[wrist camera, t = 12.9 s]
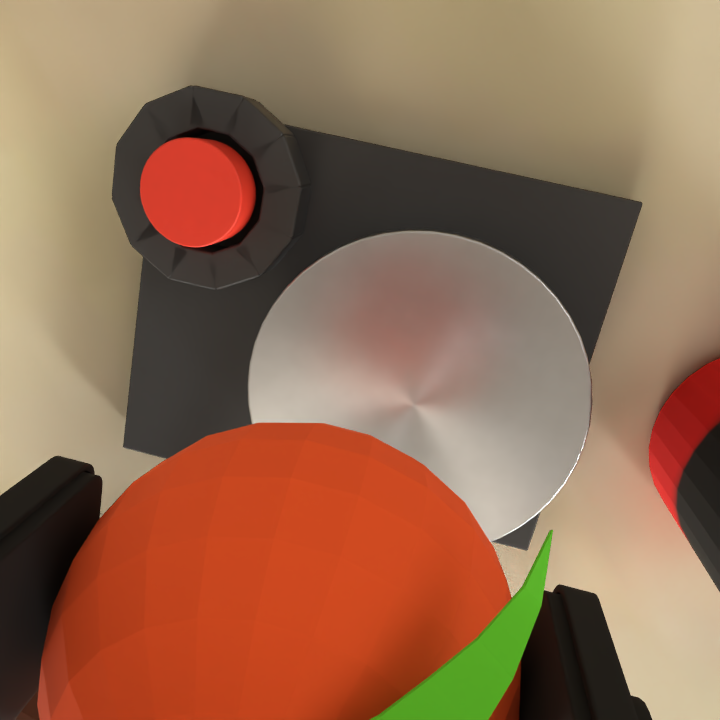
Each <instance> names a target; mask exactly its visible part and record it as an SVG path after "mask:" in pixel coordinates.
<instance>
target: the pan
mask: <svg viewBox="0 0 720 720" xmlns="http://www.w3.org/2000/svg"><path fill="white" fill-rule="evenodd" d="M248 405H249V411H250V417H251V422H252V424H255V423H259V422H260V423H326V424H329V425H333V426H337V427H341V428H345V429H349V430H353V431H357V432H361V433H365V434H369V435H371V436H373V437H375V438H377V439H379V440H380V441H382V442H384V443H386V444H388V445H390V446H392V447H394V448H395V449H397V450H399V451H401V452H403V453H405V454H407V455H408V456H410V457H412V458H414V459H415V460H417V461H419V462H420V463H422V464H423V465H425V466H426V467H427V468H428V469H429V470H430V471H431V472H432V473H433V474H434V475H436V476H437V477H438V478H439V479H440V480H441V481H442V482H443V483H444V484H445V485H447V486H448V487H449V488H450V489H451V490H452V491H453V492H454V493H455V494H456V495H457V496H459V497H460V498H461V499H462V500H463V501H464V502H465V503H466V505H467V506H468V508H469V509H470V511H471V513H472V514H473V516H474V517H475V519H476V520H477V522H478V524H479V525H480V527H481V528H482V530H483V531H484V533H485V535H486V536H487V538H488V539H489V541H490V542H492V541H494V540H497V539H499V538H501V537H503V536H505V535H507V534H509V533H510V532H512V531H514V530H516V529H518V528H519V527H521V526H522V525H523V524H525V523H526V522H527V521H529V520H530V519H532V518H533V517H534V516H536V515H537V514H538V513H539V512H540V511H541V510H542V509H543V508H544V507H545V506H546V505H547V504H548V503H549V502H550V501H551V500H552V499H553V498H554V497H555V495H556V494H557V493H558V492H559V490H560V489H561V488H562V487H563V485H564V484H565V483H566V481H567V479H568V478H569V476H570V474H571V473H572V471H573V469H574V468H575V466H576V464H577V462H578V459H579V457H580V455H581V452H582V450H583V448H584V445H585V441H586V437H587V434H588V430H589V426H590V420H591V411H592V379H591V373H590V368H589V362H588V357H587V354H586V351H585V348H584V345H583V342H582V339H581V336H580V334H579V332H578V330H577V328H576V326H575V324H574V322H573V320H572V318H571V316H570V315H569V313H568V312H567V310H566V309H565V308H564V306H563V305H562V303H561V302H560V300H559V299H558V297H557V296H556V295H555V293H554V292H553V291H552V290H551V289H550V288H549V287H548V286H547V285H546V284H545V282H544V281H543V280H542V279H541V278H540V277H539V276H538V275H537V274H536V273H534V272H533V271H532V270H531V269H530V268H528V267H527V266H526V265H525V264H523V263H522V262H521V261H520V260H518V259H516V258H515V257H513V256H512V255H510V254H508V253H507V252H505V251H503V250H502V249H500V248H498V247H496V246H493V245H491V244H489V243H487V242H484V241H482V240H480V239H477V238H474V237H470V236H467V235H464V234H460V233H457V232H451V231H444V230H438V229H424V228H406V229H397V230H388V231H383V232H379V233H375V234H371V235H367V236H363V237H361V238H358V239H356V240H353V241H351V242H348V243H346V244H343V245H341V246H339V247H338V248H336V249H334V250H332V251H330V252H329V253H327V254H325V255H323V256H322V257H320V258H319V259H318V260H316V261H315V262H314V263H312V264H311V265H310V266H309V267H307V268H306V269H305V270H303V271H302V272H301V273H300V274H299V275H298V276H297V277H296V278H295V279H294V280H293V281H292V282H291V283H290V284H289V285H288V286H287V287H286V288H285V289H284V290H283V292H282V293H281V294H280V296H279V297H278V298H277V300H276V301H275V302H274V304H273V305H272V307H271V309H270V310H269V312H268V314H267V316H266V318H265V319H264V321H263V323H262V325H261V328H260V330H259V333H258V335H257V338H256V341H255V343H254V347H253V351H252V356H251V360H250V364H249V375H248Z"/></svg>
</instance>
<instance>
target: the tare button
mask: <svg viewBox="0 0 720 720" xmlns="http://www.w3.org/2000/svg"><path fill="white" fill-rule="evenodd" d="M140 196H141V201H142V205H143V208H144V211H145V213H146V215H147V217H148V219H149V220H150V222H151V223H152V225H153V226H154V227H155V229H156V230H157V231H158V232H159V233H160V234H162V235H163V236H164V237H166V238H167V239H169V240H170V241H172V242H174V243H177V244H179V245H182V246H187V247H204V246H208V245H212V244H215V243H217V242H220V241H223V240H226V239H229V238H231V237H233V236H234V235H236V234H237V233H239V232H240V231H241V230H242V229H243V228H244V227H245V226H246V224H247V223H248V221H249V220H250V218H251V216H252V213H253V211H254V207H255V203H256V187H255V181H254V178H253V175H252V172H251V170H250V168H249V166H248V164H247V163H246V161H245V160H244V159H243V157H242V156H241V155H240V154H239V153H238V152H237V151H235V150H234V149H233V148H231V147H230V146H228V145H226V144H224V143H222V142H219V141H216V140H210V139H201V138H190V137H184V138H177V139H174V140H170V141H168V142H166V143H164V144H163V145H161V146H160V147H158V148H157V149H156V150H155V151H154V152H153V153H152V154H151V156H150V157H149V159H148V160H147V162H146V164H145V166H144V168H143V171H142V175H141V180H140Z"/></svg>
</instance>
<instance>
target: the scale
mask: <svg viewBox="0 0 720 720" xmlns="http://www.w3.org/2000/svg"><path fill="white" fill-rule="evenodd" d="M184 137H190V138H201V139H210V140H216V141H219V142H222V143H224V144H226V145H228V146H230V147H231V148H233V149H234V150H235V151H237V152H238V153H239V154H240V155H241V156H242V157H243V159H244V160H245V161H246V163H247V164H248V166H249V168H250V170H251V172H252V175H253V178H254V181H255V187H256V203H255V207H254V211H253V213H252V216H251V218H250V220H249V221H248V223H247V224H246V226H245V227H244V228H243V229H242V230H241V231H240V232H239V233H237V234H236V235H234V236H233V237H231V238H229V239H226V240H223V241H220V242H217V243H215V244H212V245H208V246H204V247H187V246H182V245H179V244H177V243H174V242H172V241H170V240H169V239H167V238H166V237H164V236H163V235H162V234H160V233H159V232H158V231H157V230H156V229H155V227H154V226H153V225H152V223H151V222H150V220H149V219H148V217H147V215H146V213H145V211H144V208H143V205H142V201H141V196H140V180H141V175H142V171H143V168H144V166H145V164H146V162H147V160H148V159H149V157H150V156H151V154H152V153H153V152H154V151H155V150H156V149H157V148H158V147H160V146H161V145H163V144H164V143H166V142H168V141H170V140H174V139H177V138H184ZM112 200H113V202H114V205H115V207H116V210H117V212H118V215H119V217H120V220H121V222H122V225H123V227H124V229H125V232H126V234H127V237H128V239H129V242H130V244H131V245H132V247H133V248H134V249H136V250H137V251H138V252H139V253H140V254H141V255H142V256H143V263H142V272H141V282H140V291H139V301H138V311H137V320H136V330H135V339H134V349H133V358H132V368H131V377H130V387H129V396H128V406H127V416H126V425H125V435H124V444H123V447H124V448H127V449H131V450H135V451H139V452H143V453H146V454H150V455H154V456H158V457H162V458H166V459H168V458H169V457H171V456H173V455H175V454H176V453H178V452H180V451H182V450H183V449H185V448H187V447H188V446H190V445H192V444H194V443H195V442H197V441H199V440H201V439H202V438H204V437H206V436H208V435H212V434H216V433H220V432H224V431H228V430H232V429H236V428H240V427H243V426H247V425H251V424H252V422H251V417H250V411H249V405H248V375H249V364H250V360H251V356H252V351H253V347H254V343H255V341H256V338H257V335H258V333H259V330H260V328H261V325H262V323H263V321H264V319H265V318H266V316H267V314H268V312H269V310H270V309H271V307H272V305H273V304H274V302H275V301H276V300H277V298H278V297H279V296H280V294H281V293H282V292H283V290H284V289H285V288H286V287H287V286H288V285H289V284H290V283H291V282H292V281H293V280H294V279H295V278H296V277H297V276H298V275H299V274H300V273H301V272H302V271H303V270H305V269H306V268H307V267H309V266H310V265H311V264H312V263H314V262H315V261H316V260H318V259H319V258H320V257H322V256H323V255H325V254H327V253H329V252H330V251H332V250H334V249H336V248H338V247H339V246H341V245H343V244H346V243H348V242H351V241H353V240H356V239H358V238H361V237H363V236H367V235H371V234H375V233H379V232H383V231H388V230H397V229H406V228H424V229H438V230H444V231H451V232H457V233H460V234H464V235H467V236H470V237H474V238H477V239H480V240H482V241H484V242H487V243H489V244H491V245H493V246H496V247H498V248H500V249H502V250H503V251H505V252H507V253H508V254H510V255H512V256H513V257H515V258H516V259H518V260H520V261H521V262H522V263H523V264H525V265H526V266H527V267H528V268H530V269H531V270H532V271H533V272H534V273H536V274H537V275H538V276H539V277H540V278H541V279H542V280H543V281H544V282H545V284H546V285H547V286H548V287H549V288H550V289H551V290H552V291H553V292H554V293H555V295H556V296H557V297H558V299H559V300H560V302H561V303H562V305H563V306H564V308H565V309H566V310H567V312H568V313H569V315H570V316H571V318H572V320H573V322H574V324H575V326H576V328H577V330H578V332H579V334H580V336H581V339H582V342H583V345H584V348H585V351H586V354H587V357H588V362H589V364H590V361H591V358H592V355H593V352H594V349H595V346H596V343H597V340H598V337H599V334H600V331H601V328H602V324H603V321H604V318H605V315H606V312H607V309H608V306H609V303H610V300H611V297H612V294H613V291H614V288H615V285H616V282H617V279H618V276H619V273H620V270H621V267H622V264H623V261H624V258H625V255H626V252H627V249H628V246H629V243H630V240H631V237H632V234H633V231H634V228H635V225H636V222H637V219H638V216H639V213H640V210H641V207H642V202H639V201H634V200H630V199H625V198H621V197H616V196H611V195H607V194H602V193H598V192H593V191H588V190H584V189H579V188H574V187H570V186H565V185H561V184H556V183H551V182H547V181H542V180H538V179H533V178H528V177H524V176H519V175H515V174H510V173H505V172H501V171H496V170H492V169H487V168H482V167H478V166H473V165H469V164H464V163H459V162H455V161H450V160H446V159H441V158H436V157H432V156H427V155H422V154H418V153H413V152H409V151H404V150H399V149H395V148H390V147H386V146H381V145H376V144H372V143H367V142H363V141H358V140H353V139H349V138H344V137H340V136H335V135H330V134H326V133H321V132H317V131H312V130H307V129H303V128H298V127H294V126H289V125H284V124H282V123H281V122H280V121H279V120H278V119H277V118H276V117H275V116H274V115H273V114H272V113H270V112H269V111H268V110H267V109H266V108H265V107H264V106H263V105H262V104H261V103H260V102H257V101H256V100H254V99H251V98H248V97H245V96H241V95H237V94H232V93H228V92H223V91H218V90H214V89H209V88H204V87H200V86H188V87H186V88H183V89H180V90H178V91H175V92H173V93H170V94H168V95H165V96H163V97H160V98H158V99H155V100H153V101H150V102H148V103H146V104H145V105H144V106H143V107H142V109H141V110H140V112H139V113H138V114H137V116H136V117H135V119H134V120H133V122H132V123H131V124H130V126H129V127H128V129H127V130H126V132H125V133H124V134H123V136H122V137H121V139H120V140H119V142H118V143H117V147H116V154H115V165H114V177H113V188H112ZM540 512H541V511H540ZM540 512H539V513H538V514H537V515H536V516H534V517H533V518H532V519H530V520H529V521H527V522H526V523H525V524H523V525H522V526H521V527H519V528H518V529H516V530H514V531H512V532H510V533H509V534H507V535H505V536H503V537H501V538H499V539H497V540H494V541H492V542H495V543H499V544H503V545H507V546H511V547H515V548H518V549H522V550H528V548H529V545H530V542H531V539H532V536H533V533H534V530H535V527H536V524H537V521H538V518H539V515H540Z"/></svg>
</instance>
